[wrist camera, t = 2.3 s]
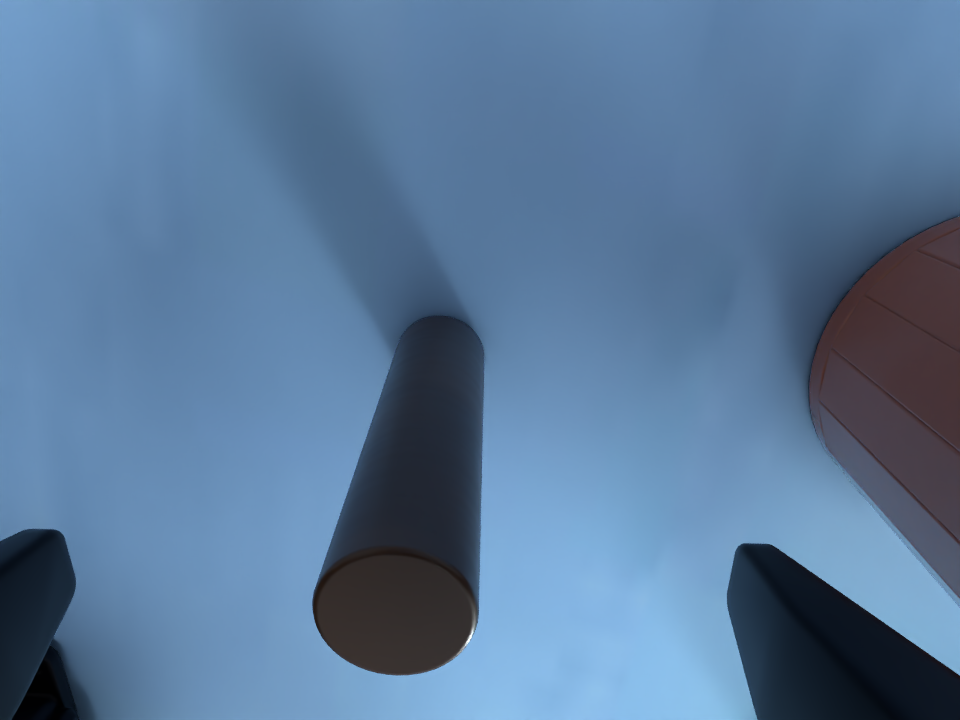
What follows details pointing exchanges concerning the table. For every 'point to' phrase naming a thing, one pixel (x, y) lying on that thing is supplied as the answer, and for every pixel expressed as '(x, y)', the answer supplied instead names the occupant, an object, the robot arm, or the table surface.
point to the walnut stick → (412, 513)
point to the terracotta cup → (900, 395)
